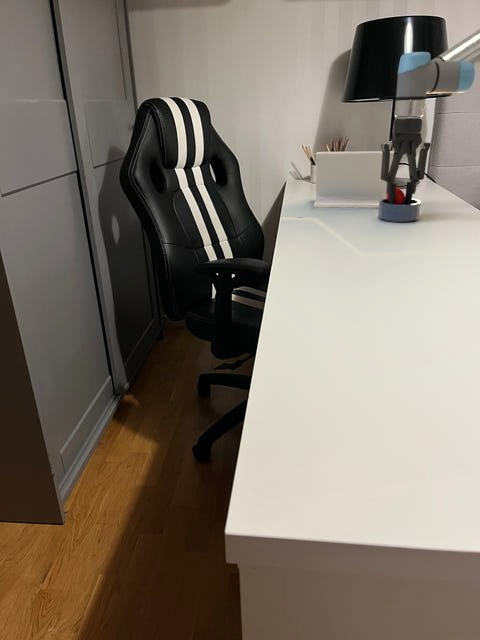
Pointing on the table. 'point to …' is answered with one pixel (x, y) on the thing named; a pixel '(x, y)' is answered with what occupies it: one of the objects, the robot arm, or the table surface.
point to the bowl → (399, 211)
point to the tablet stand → (350, 179)
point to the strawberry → (398, 196)
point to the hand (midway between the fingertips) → (399, 205)
